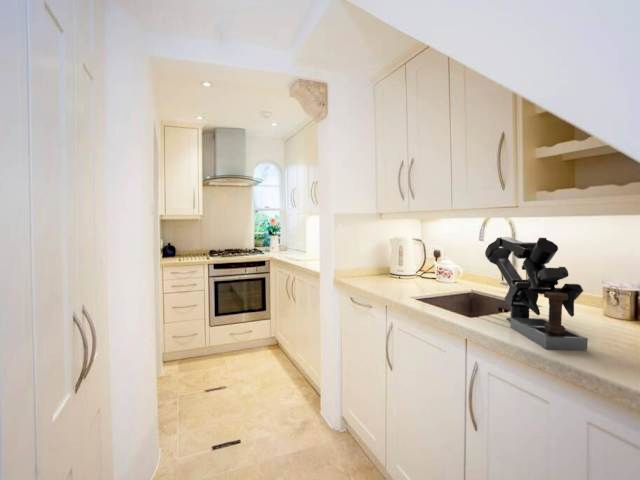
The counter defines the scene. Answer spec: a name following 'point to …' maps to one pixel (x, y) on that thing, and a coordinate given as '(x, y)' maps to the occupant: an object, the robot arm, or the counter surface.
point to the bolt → (555, 313)
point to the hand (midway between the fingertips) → (555, 315)
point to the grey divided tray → (539, 335)
